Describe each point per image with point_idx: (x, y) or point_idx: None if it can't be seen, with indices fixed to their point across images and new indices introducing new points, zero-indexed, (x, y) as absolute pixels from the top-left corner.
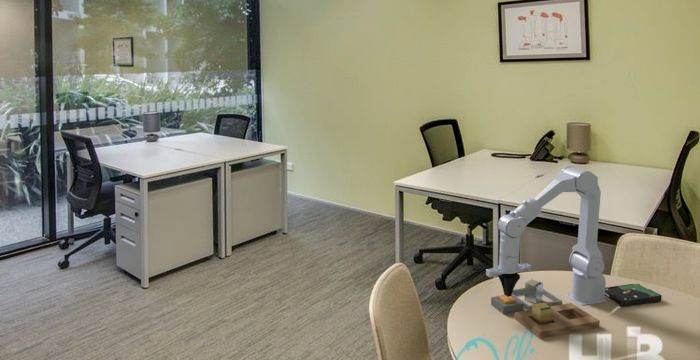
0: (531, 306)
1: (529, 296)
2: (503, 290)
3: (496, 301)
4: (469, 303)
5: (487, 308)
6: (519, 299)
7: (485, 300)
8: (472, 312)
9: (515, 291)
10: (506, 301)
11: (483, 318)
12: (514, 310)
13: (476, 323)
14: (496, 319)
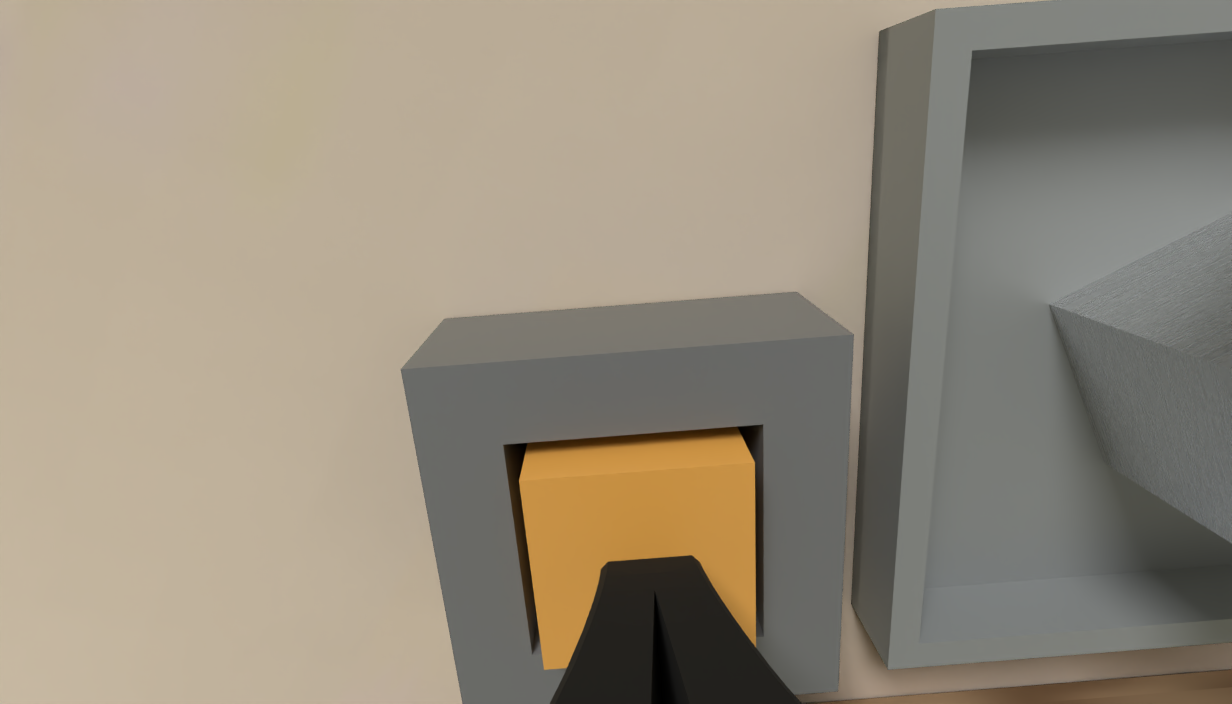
0: (934, 661)
1: (1147, 414)
2: (590, 614)
3: (433, 536)
4: (107, 137)
5: (360, 377)
6: (917, 443)
7: (435, 96)
8: (90, 439)
9: (1114, 41)
10: (566, 663)
11: (206, 613)
12: None
13: (80, 697)
14: (366, 664)
